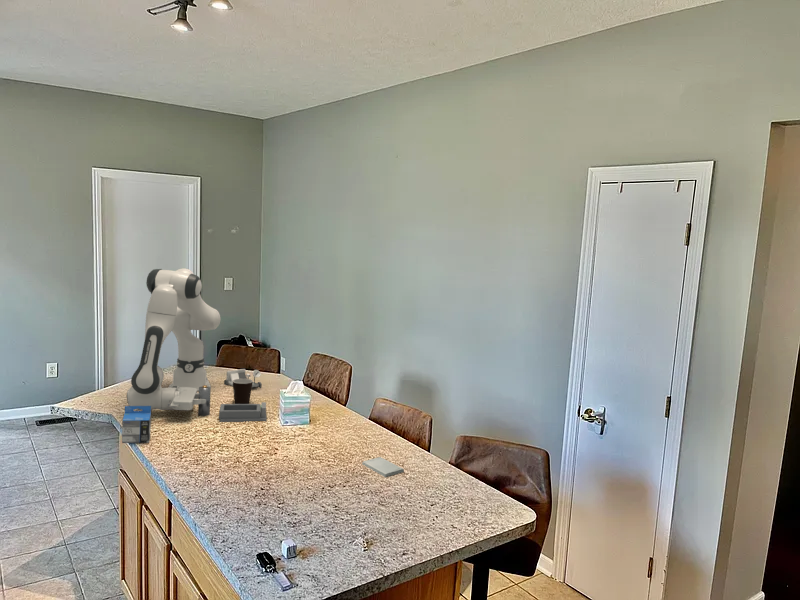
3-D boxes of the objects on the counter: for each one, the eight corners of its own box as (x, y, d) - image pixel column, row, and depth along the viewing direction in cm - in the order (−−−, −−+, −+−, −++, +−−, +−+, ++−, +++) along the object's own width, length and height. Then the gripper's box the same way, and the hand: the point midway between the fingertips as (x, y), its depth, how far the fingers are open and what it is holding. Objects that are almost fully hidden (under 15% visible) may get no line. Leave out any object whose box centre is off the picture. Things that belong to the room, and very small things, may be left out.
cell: (198, 412, 238) (199, 384, 236) (210, 412, 239) (211, 384, 238) (197, 416, 233) (198, 387, 232) (209, 415, 234) (210, 387, 233)
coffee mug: (248, 406, 250) (249, 384, 249) (229, 405, 250) (229, 382, 249) (255, 399, 262) (256, 377, 261) (237, 397, 262) (238, 376, 261)
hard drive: (404, 468, 192) (380, 456, 201) (385, 474, 187) (362, 461, 196) (403, 473, 192) (380, 460, 202) (385, 479, 187) (361, 465, 196)
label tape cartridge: (121, 443, 199) (121, 409, 198) (123, 439, 203) (124, 405, 202) (148, 442, 202) (149, 408, 200) (150, 439, 205) (151, 405, 204)
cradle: (220, 412, 240) (221, 400, 239) (266, 412, 244) (266, 400, 244) (218, 421, 228) (219, 409, 227) (266, 421, 232) (266, 409, 232)
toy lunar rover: (265, 370, 279) (245, 373, 270) (264, 389, 280) (244, 393, 271) (244, 362, 290) (224, 365, 282) (244, 381, 292) (223, 385, 283)
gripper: (167, 398, 222) (204, 398, 225) (174, 384, 242) (209, 384, 245) (166, 414, 223) (204, 414, 226) (174, 399, 242) (208, 399, 246)
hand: (206, 398), depth 236 cm, fingers closed on cell, 5 cm apart
